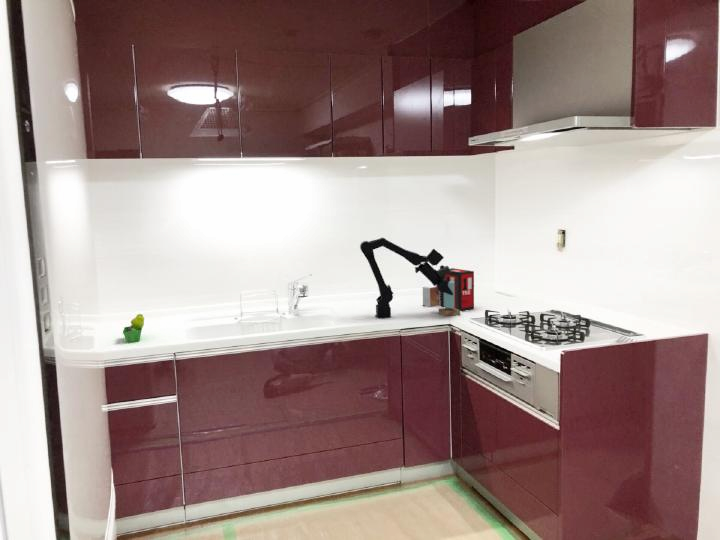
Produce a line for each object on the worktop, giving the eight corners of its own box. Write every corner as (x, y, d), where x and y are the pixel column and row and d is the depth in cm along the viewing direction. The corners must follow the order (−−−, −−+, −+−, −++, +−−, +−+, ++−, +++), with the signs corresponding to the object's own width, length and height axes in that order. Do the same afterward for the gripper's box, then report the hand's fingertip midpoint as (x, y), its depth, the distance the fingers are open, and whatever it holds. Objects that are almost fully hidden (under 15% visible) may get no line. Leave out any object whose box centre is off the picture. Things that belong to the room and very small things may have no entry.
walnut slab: (445, 316, 289) (445, 311, 289) (438, 313, 296) (438, 308, 296) (460, 315, 291) (460, 310, 291) (452, 312, 299) (452, 307, 299)
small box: (430, 307, 313) (429, 287, 312) (422, 305, 318) (422, 286, 316) (440, 305, 318) (440, 286, 317) (432, 303, 323) (432, 285, 321)
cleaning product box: (440, 306, 314) (439, 269, 312) (452, 304, 319) (452, 268, 316) (460, 311, 300) (460, 272, 298) (473, 309, 305) (473, 271, 302)
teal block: (445, 307, 291) (445, 283, 289) (443, 306, 296) (443, 281, 294) (454, 307, 291) (454, 282, 290) (452, 305, 296) (452, 281, 294)
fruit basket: (125, 337, 264) (123, 313, 262) (146, 335, 267) (144, 311, 265) (123, 343, 253) (121, 318, 252) (145, 341, 256) (143, 316, 254)
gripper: (444, 263, 281) (467, 285, 283) (437, 258, 299) (459, 279, 301) (428, 279, 282) (450, 301, 284) (422, 274, 300) (443, 295, 302)
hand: (451, 293), depth 293 cm, fingers closed on teal block, 4 cm apart
